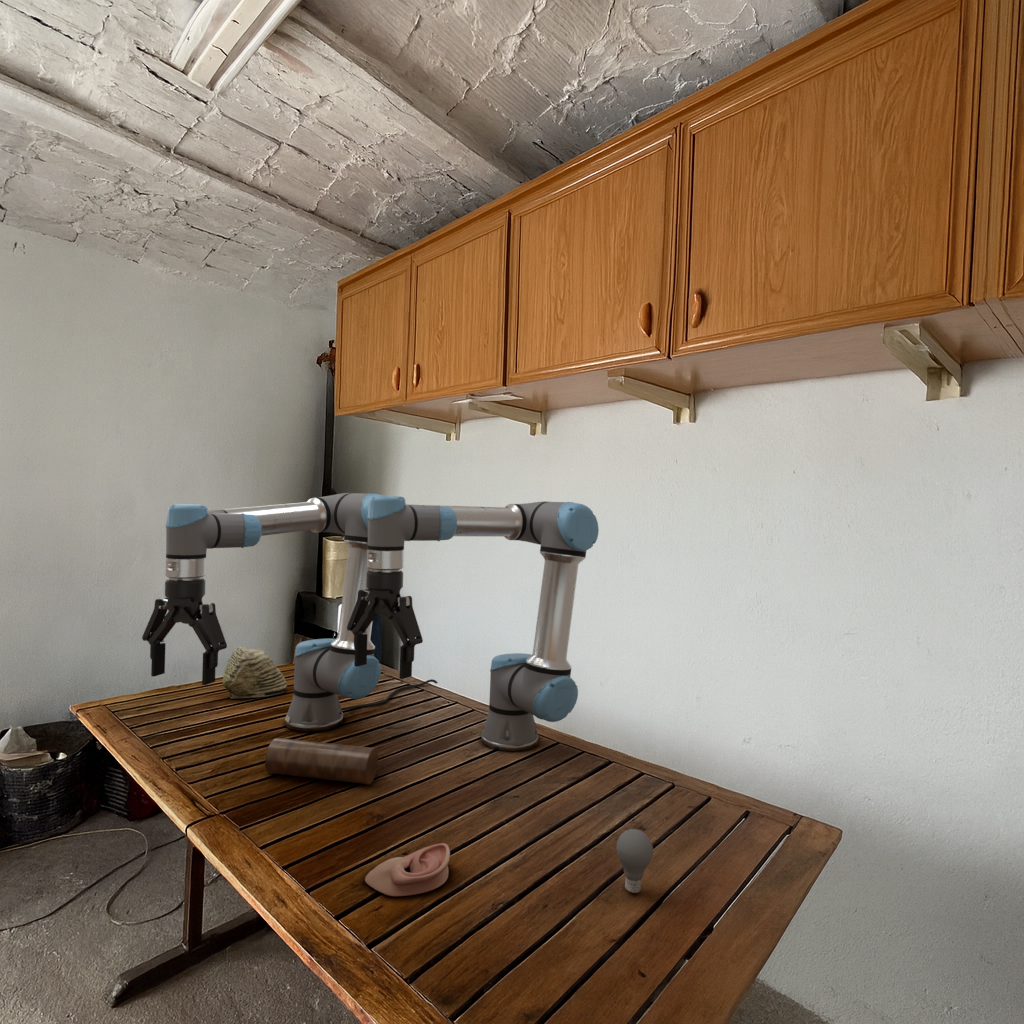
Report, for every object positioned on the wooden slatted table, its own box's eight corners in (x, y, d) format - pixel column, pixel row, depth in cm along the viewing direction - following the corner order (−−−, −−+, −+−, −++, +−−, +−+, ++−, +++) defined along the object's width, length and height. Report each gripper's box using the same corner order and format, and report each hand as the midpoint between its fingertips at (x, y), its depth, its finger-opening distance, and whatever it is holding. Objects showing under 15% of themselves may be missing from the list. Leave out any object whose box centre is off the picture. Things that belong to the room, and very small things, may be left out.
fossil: (218, 695, 195) (220, 647, 195) (278, 685, 208) (279, 640, 207) (228, 703, 189) (230, 653, 188) (289, 692, 201) (290, 645, 201)
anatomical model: (357, 866, 102) (385, 830, 114) (356, 890, 102) (384, 852, 114) (435, 879, 100) (456, 841, 111) (434, 904, 100) (455, 864, 111)
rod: (264, 778, 141) (265, 745, 141) (281, 764, 148) (282, 732, 148) (364, 790, 137) (366, 756, 137) (377, 775, 145) (378, 743, 145)
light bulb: (610, 879, 108) (613, 822, 108) (644, 879, 109) (647, 822, 109) (619, 902, 102) (622, 840, 102) (655, 901, 103) (658, 840, 103)
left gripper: (124, 575, 133) (122, 675, 133) (219, 585, 125) (216, 692, 125) (155, 571, 140) (152, 667, 140) (247, 580, 132) (244, 681, 132)
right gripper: (331, 565, 136) (329, 663, 137) (415, 577, 121) (412, 687, 122) (359, 563, 142) (356, 657, 143) (441, 574, 128) (438, 678, 128)
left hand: (182, 679), depth 133 cm, fingers open, 13 cm apart
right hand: (382, 671), depth 132 cm, fingers open, 13 cm apart
